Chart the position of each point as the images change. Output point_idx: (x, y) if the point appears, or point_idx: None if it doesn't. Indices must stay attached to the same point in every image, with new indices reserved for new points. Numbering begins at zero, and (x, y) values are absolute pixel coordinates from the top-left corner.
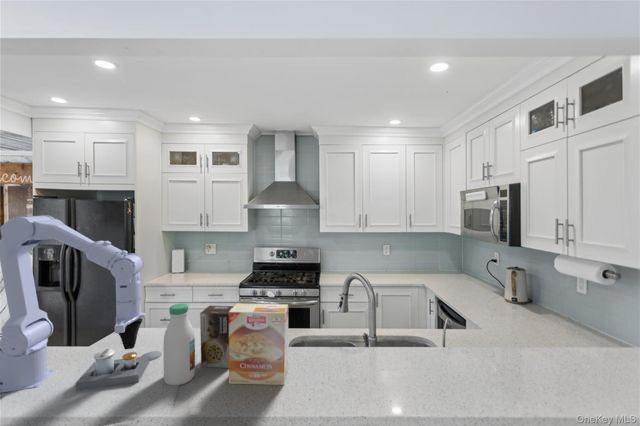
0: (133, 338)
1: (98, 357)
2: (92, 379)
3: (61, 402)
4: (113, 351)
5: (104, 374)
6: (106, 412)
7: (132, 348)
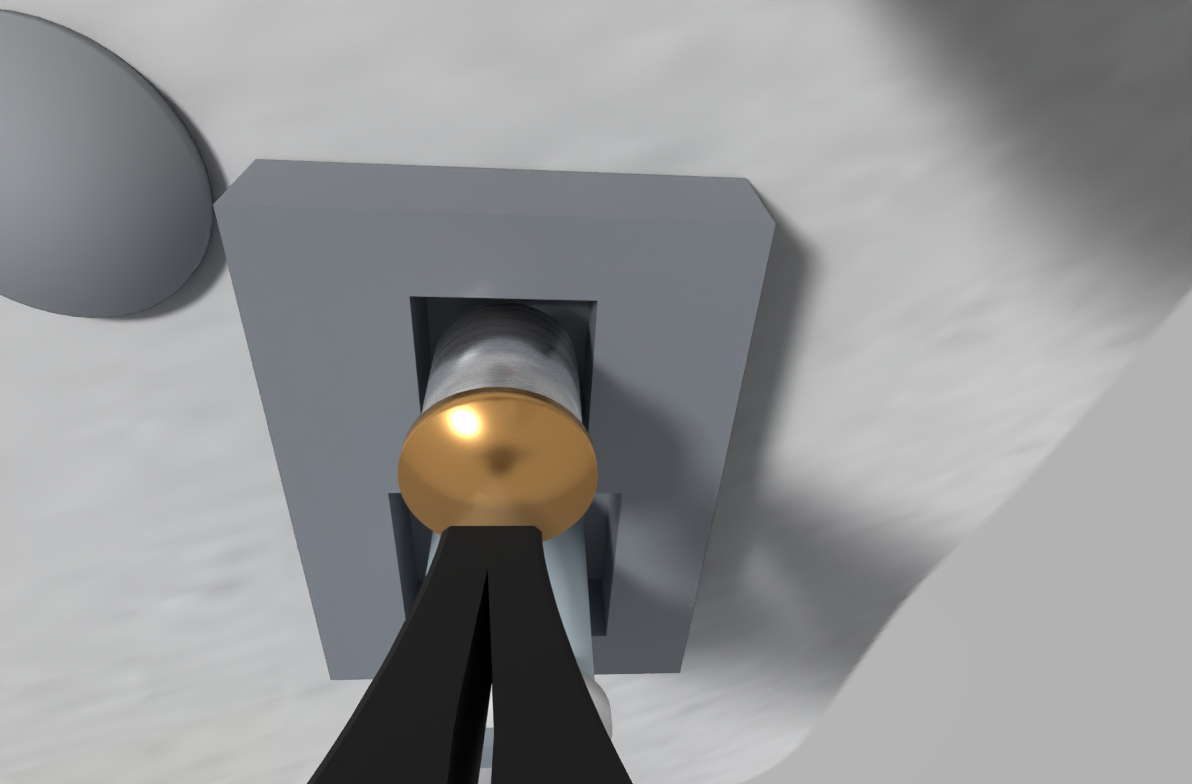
0: (588, 708)
1: None
2: (673, 598)
3: (768, 630)
4: None
5: (582, 543)
6: (1114, 334)
7: (539, 533)
